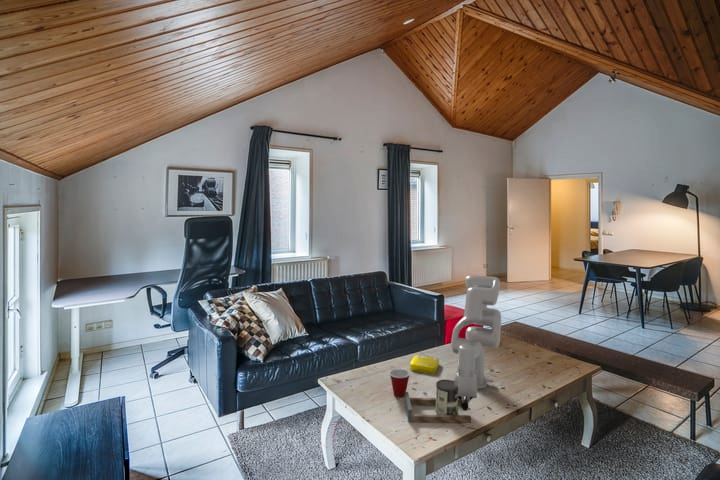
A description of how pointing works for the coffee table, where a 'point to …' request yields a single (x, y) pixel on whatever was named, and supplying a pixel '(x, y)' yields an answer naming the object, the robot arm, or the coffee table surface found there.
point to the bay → (431, 418)
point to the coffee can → (446, 398)
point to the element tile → (424, 364)
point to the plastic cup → (399, 381)
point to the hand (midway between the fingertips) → (464, 409)
